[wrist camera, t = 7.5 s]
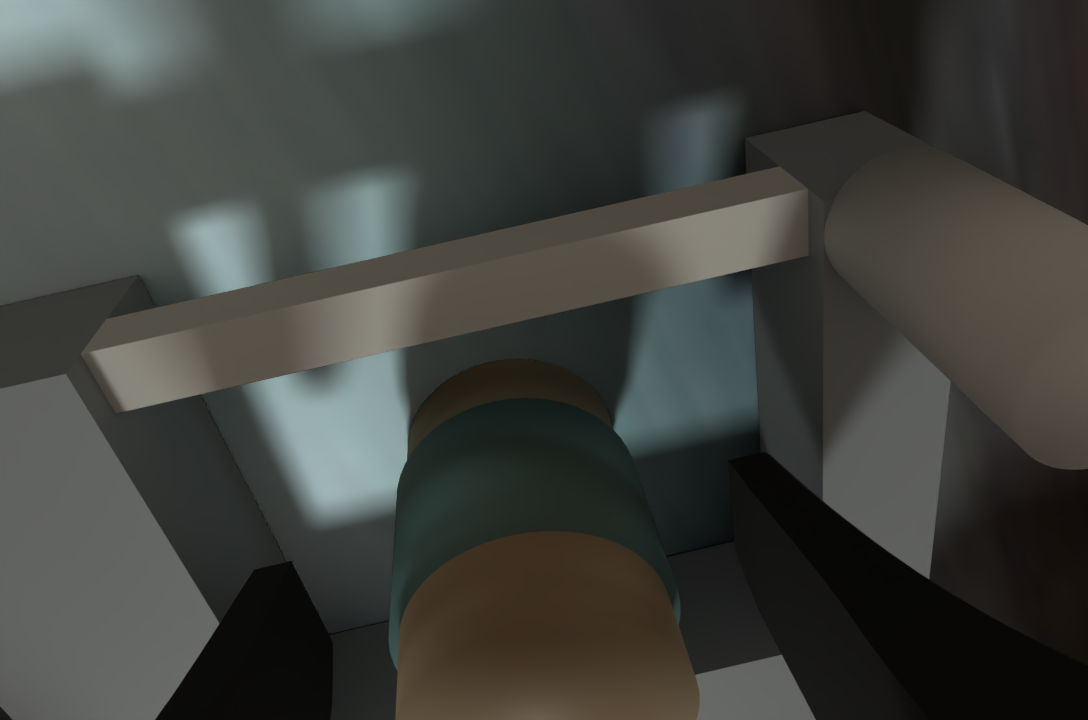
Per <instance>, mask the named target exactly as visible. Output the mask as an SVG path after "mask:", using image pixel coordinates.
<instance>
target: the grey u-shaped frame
mask: <svg viewBox="0 0 1088 720" xmlns="http://www.w3.org/2000/svg"><path fill="white" fill-rule="evenodd" d="M745 155H746V174H744V175H740V176H735V177H731V178H726V179H722V180H717V181H713V182H709V183H704V184H700V185H695V186H691V187H687V188H682V189H678V190H673V191H669V192H665V193H660V194H656V195H651V196H647V197H642V198H638V199H634V200H629V201H625V202H620V203H616V204H612V205H607V206H603V207H598V208H594V209H590V210H585V211H581V212H576V213H572V214H567V215H563V216H559V217H554V218H550V219H545V220H541V221H537V222H532V223H528V224H523V225H519V226H515V227H510V228H506V229H501V230H497V231H492V232H488V233H484V234H479V235H475V236H470V237H466V238H462V239H457V240H453V241H448V242H444V243H440V244H435V245H431V246H426V247H422V248H417V249H413V250H409V251H404V252H400V253H395V254H391V255H387V256H382V257H378V258H373V259H369V260H365V261H360V262H356V263H351V264H347V265H342V266H338V267H334V268H329V269H325V270H320V271H316V272H312V273H307V274H303V275H298V276H294V277H290V278H285V279H281V280H276V281H272V282H267V283H263V284H259V285H254V286H250V287H245V288H241V289H237V290H232V291H228V292H223V293H219V294H215V295H210V296H206V297H201V298H197V299H193V300H188V301H184V302H179V303H175V304H170V305H166V306H162V307H157V308H155V306H154V304H153V302H152V300H151V298H150V296H149V294H148V292H147V290H146V288H145V286H144V284H143V282H142V281H141V279H140V277H139V275H137V276H133V277H129V278H124V279H120V280H115V281H111V282H106V283H102V284H98V285H93V286H89V287H84V288H80V289H76V290H71V291H67V292H62V293H58V294H53V295H49V296H45V297H40V298H36V299H31V300H27V301H22V302H18V303H14V304H9V305H5V306H0V707H1V708H2V709H3V710H4V711H5V712H6V713H7V714H8V715H9V716H10V718H11V719H12V720H155V719H156V717H157V716H158V715H159V713H160V712H161V710H162V709H163V708H164V706H165V705H166V704H167V702H168V701H169V699H170V698H171V697H172V695H173V694H174V692H175V691H176V689H177V688H178V686H179V685H180V683H181V682H182V680H183V679H184V677H185V676H186V674H187V673H188V671H189V670H190V668H191V667H192V665H193V664H194V662H195V661H196V659H197V658H198V656H199V655H200V653H201V652H202V650H203V648H204V647H205V645H206V644H207V642H208V641H209V639H210V638H211V636H212V634H213V633H214V631H215V630H216V628H217V627H218V625H219V623H220V622H221V620H222V619H223V617H224V616H225V614H226V612H227V611H228V609H229V608H230V606H231V604H232V603H233V601H234V600H235V598H236V597H237V595H238V594H239V592H240V590H241V589H242V587H243V586H244V584H245V583H246V581H247V580H248V578H249V577H250V575H251V574H252V572H253V571H254V569H259V568H263V567H267V566H272V565H276V564H280V563H285V562H286V560H285V558H284V556H283V554H282V553H281V551H280V549H279V547H278V545H277V543H276V541H275V539H274V537H273V535H272V533H271V531H270V529H269V527H268V525H267V523H266V521H265V519H264V518H263V516H262V514H261V512H260V510H259V508H258V506H257V504H256V502H255V500H254V498H253V496H252V494H251V492H250V490H249V488H248V486H247V485H246V483H245V481H244V479H243V477H242V475H241V473H240V471H239V469H238V467H237V465H236V463H235V461H234V459H233V457H232V455H231V453H230V451H229V450H228V448H227V446H226V444H225V442H224V440H223V438H222V436H221V434H220V432H219V430H218V428H217V426H216V424H215V422H214V420H213V418H212V417H211V415H210V413H209V411H208V409H207V407H206V405H205V403H204V401H203V399H202V397H201V395H200V394H204V393H208V392H212V391H217V390H221V389H226V388H230V387H234V386H239V385H243V384H248V383H252V382H256V381H261V380H265V379H269V378H274V377H278V376H283V375H287V374H291V373H296V372H300V371H305V370H309V369H313V368H318V367H322V366H327V365H331V364H335V363H340V362H344V361H348V360H353V359H357V358H362V357H366V356H370V355H375V354H379V353H384V352H388V351H392V350H397V349H401V348H406V347H410V346H414V345H419V344H423V343H427V342H432V341H436V340H441V339H445V338H449V337H454V336H458V335H463V334H467V333H471V332H476V331H480V330H485V329H489V328H493V327H498V326H502V325H506V324H511V323H515V322H520V321H524V320H528V319H533V318H537V317H542V316H546V315H550V314H555V313H559V312H563V311H568V310H572V309H577V308H581V307H585V306H590V305H594V304H599V303H603V302H607V301H612V300H616V299H621V298H625V297H629V296H634V295H638V294H642V293H647V292H651V291H656V290H660V289H664V288H669V287H673V286H678V285H682V284H686V283H691V282H695V281H700V280H704V279H708V278H713V277H717V276H721V275H726V274H730V273H735V272H739V271H743V270H748V269H751V273H752V292H753V312H754V332H755V351H756V371H757V391H758V410H759V430H760V450H761V453H762V452H766V453H768V454H769V455H771V456H772V457H773V458H774V459H775V460H777V461H778V462H779V463H780V464H781V465H782V466H783V467H784V468H785V469H787V470H788V471H789V472H790V473H791V474H792V475H793V476H794V477H796V478H797V479H798V480H799V481H800V482H801V483H802V484H804V485H805V486H806V487H807V488H808V489H809V490H811V491H812V492H813V493H814V494H815V495H817V496H818V497H819V498H820V499H821V500H822V501H824V502H825V503H826V504H827V505H829V506H830V507H831V508H832V509H833V510H835V511H836V512H837V513H838V514H840V515H841V516H842V517H843V518H845V519H846V520H847V521H849V522H850V523H851V524H853V525H854V526H855V527H856V528H858V529H859V530H860V531H862V532H863V533H864V534H865V535H867V536H868V537H869V538H871V539H872V540H873V541H875V542H876V543H877V544H879V545H880V546H882V547H883V548H884V549H886V550H887V551H888V552H890V553H891V554H893V555H894V556H895V557H897V558H898V559H900V560H901V561H903V562H904V563H906V564H907V565H908V566H910V567H911V568H913V569H914V570H916V571H917V572H919V573H920V574H922V575H923V576H925V577H926V578H928V579H929V576H930V567H931V558H932V549H933V539H934V530H935V521H936V512H937V503H938V493H939V484H940V475H941V466H942V456H943V447H944V438H945V429H946V420H947V410H948V401H949V392H950V383H951V382H952V383H954V384H955V385H956V386H957V387H958V388H959V389H960V390H961V391H962V392H963V393H964V394H965V395H966V396H967V397H968V398H969V399H970V400H971V401H972V402H974V403H975V404H976V405H977V406H978V407H979V408H980V409H981V410H982V411H983V412H984V413H985V414H986V415H987V416H988V417H989V418H990V419H991V420H992V421H994V422H995V423H996V424H997V425H998V426H999V427H1000V428H1001V429H1002V430H1003V431H1004V432H1005V433H1006V434H1007V435H1008V436H1009V437H1010V438H1011V439H1012V440H1014V441H1015V442H1016V443H1017V444H1018V445H1019V446H1020V447H1021V448H1022V449H1023V450H1024V451H1025V452H1026V453H1027V454H1028V455H1030V456H1031V457H1032V458H1033V459H1035V460H1037V461H1038V462H1040V463H1042V464H1044V465H1048V466H1051V467H1054V468H1060V469H1071V470H1078V469H1088V225H1086V224H1084V223H1082V222H1080V221H1078V220H1077V219H1075V218H1073V217H1071V216H1069V215H1067V214H1065V213H1063V212H1061V211H1059V210H1057V209H1055V208H1053V207H1051V206H1049V205H1048V204H1046V203H1044V202H1042V201H1040V200H1038V199H1036V198H1034V197H1032V196H1030V195H1028V194H1026V193H1024V192H1022V191H1020V190H1018V189H1017V188H1015V187H1013V186H1011V185H1009V184H1007V183H1005V182H1003V181H1001V180H999V179H997V178H995V177H993V176H991V175H989V174H988V173H986V172H984V171H982V170H980V169H978V168H976V167H974V166H972V165H970V164H968V163H966V162H964V161H962V160H960V159H959V158H957V157H955V156H953V155H951V154H949V153H947V152H945V151H943V150H941V149H938V148H935V147H933V146H931V145H929V144H927V143H926V142H924V141H922V140H920V139H918V138H916V137H914V136H912V135H910V134H908V133H906V132H904V131H902V130H901V129H899V128H897V127H895V126H893V125H891V124H889V123H887V122H885V121H883V120H881V119H879V118H877V117H875V116H874V115H872V114H870V113H868V112H866V111H862V112H858V113H854V114H849V115H845V116H840V117H836V118H831V119H827V120H823V121H818V122H814V123H809V124H805V125H800V126H796V127H792V128H787V129H783V130H778V131H774V132H770V133H765V134H761V135H756V136H752V137H747V138H745ZM666 558H667V561H668V563H669V566H670V569H671V572H672V575H673V578H674V581H675V584H676V586H677V590H678V594H679V598H680V610H681V614H680V621H679V628H680V631H681V634H682V637H683V640H684V644H685V647H686V650H687V653H688V656H689V659H690V662H691V665H692V668H693V671H694V674H695V677H696V680H697V684H698V688H699V696H700V705H699V711H698V716H697V719H696V720H816V719H815V717H814V715H813V713H812V712H811V710H810V708H809V706H808V704H807V702H806V700H805V698H804V696H803V694H802V692H801V691H800V689H799V687H798V685H797V683H796V681H795V679H794V677H793V675H792V673H791V671H790V670H789V668H788V666H787V664H786V662H785V660H784V658H783V656H782V654H781V652H780V650H779V649H778V647H777V645H776V643H775V641H774V639H773V637H772V635H771V633H770V631H769V629H768V627H767V625H766V623H765V621H764V620H763V618H762V616H761V614H760V612H759V610H758V608H757V606H756V603H755V600H754V598H753V595H752V593H751V590H750V588H749V585H748V583H747V580H746V577H745V575H744V572H743V569H742V567H741V564H740V561H739V559H738V556H737V553H736V551H735V541H734V542H730V543H726V544H721V545H717V546H713V547H708V548H704V549H700V550H695V551H691V552H687V553H682V554H678V555H674V556H669V557H666ZM329 636H330V638H331V640H332V642H333V693H332V710H331V718H330V720H395V718H396V696H397V674H398V671H397V669H396V667H395V665H394V663H393V660H392V657H391V654H390V648H389V641H388V638H389V621H388V622H384V623H379V624H375V625H371V626H367V627H362V628H358V629H354V630H349V631H345V632H341V633H336V634H332V635H329Z"/></svg>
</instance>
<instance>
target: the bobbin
mask: <svg viewBox="0 0 1088 720" xmlns="http://www.w3.org/2000/svg"><path fill="white" fill-rule="evenodd" d="M680 614H681V610H680V598H679V594H678V590H677V586H676V584H675V581H674V578H673V575H672V572H671V569H670V566H669V563H668V561H667V558H666V555H665V552H664V549H663V546H662V543H661V540H660V537H659V535H658V532H657V529H656V526H655V523H654V520H653V517H652V514H651V511H650V509H649V506H648V503H647V500H646V497H645V494H644V491H643V488H642V486H641V483H640V480H639V477H638V474H637V471H636V468H635V465H634V462H633V460H632V457H631V455H630V453H629V451H628V448H627V447H626V445H625V444H624V442H623V441H622V439H621V438H620V437H619V436H618V434H617V433H616V432H615V431H614V429H613V426H612V423H611V420H610V417H609V414H608V412H607V410H606V407H605V405H604V403H603V402H602V400H601V399H600V397H599V396H598V394H597V393H596V392H595V391H594V390H593V389H592V388H591V387H590V385H588V384H587V383H586V382H585V381H583V380H582V379H581V378H580V377H578V376H576V375H575V374H573V373H571V372H570V371H567V370H565V369H563V368H561V367H558V366H555V365H552V364H549V363H545V362H540V361H534V360H523V359H511V360H500V361H494V362H488V363H485V364H481V365H478V366H474V367H472V368H470V369H467V370H465V371H462V372H460V373H459V374H457V375H455V376H453V377H452V378H450V379H448V380H447V381H446V382H444V383H443V384H442V385H440V386H439V387H438V388H437V389H436V390H435V391H434V392H433V393H431V394H430V395H429V397H428V398H427V399H426V400H425V402H424V403H423V404H422V405H421V407H420V409H419V410H418V412H417V414H416V415H415V418H414V420H413V423H412V425H411V428H410V433H409V437H408V454H407V462H406V463H405V465H404V468H403V470H402V473H401V475H400V479H399V483H398V488H397V502H396V519H395V536H394V553H393V569H392V586H391V603H390V620H389V638H388V641H389V648H390V654H391V657H392V660H393V663H394V665H395V667H396V669H397V671H398V674H397V696H396V718H395V720H696V719H697V716H698V711H699V705H700V696H699V688H698V684H697V680H696V677H695V674H694V671H693V668H692V665H691V662H690V659H689V656H688V653H687V650H686V647H685V644H684V640H683V637H682V634H681V631H680V628H679V621H680Z"/></svg>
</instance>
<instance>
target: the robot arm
mask: <svg viewBox="0 0 1088 720" xmlns="http://www.w3.org/2000/svg"><path fill="white" fill-rule="evenodd" d="M728 465H729V478H730V490H731V503H732V515H733V528H734V541H735V551H736V553H737V556H738V559H739V561H740V564H741V567H742V569H743V572H744V575H745V577H746V580H747V583H748V585H749V588H750V590H751V593H752V595H753V598H754V600H755V603H756V606H757V608H758V610H759V612H760V614H761V616H762V618H763V620H764V621H765V623H766V625H767V627H768V629H769V631H770V633H771V635H772V637H773V639H774V641H775V643H776V645H777V647H778V649H779V650H780V652H781V654H782V656H783V658H784V660H785V662H786V664H787V666H788V668H789V670H790V671H791V673H792V675H793V677H794V679H795V681H796V683H797V685H798V687H799V689H800V691H801V692H802V694H803V696H804V698H805V700H806V702H807V704H808V706H809V708H810V710H811V712H812V713H813V715H814V717H815V719H816V720H1088V666H1087V665H1085V664H1083V663H1080V662H1078V661H1076V660H1074V659H1072V658H1070V657H1068V656H1066V655H1064V654H1062V653H1060V652H1058V651H1056V650H1054V649H1052V648H1050V647H1048V646H1046V645H1044V644H1042V643H1040V642H1038V641H1036V640H1034V639H1032V638H1030V637H1028V636H1026V635H1024V634H1022V633H1020V632H1018V631H1016V630H1014V629H1012V628H1010V627H1008V626H1006V625H1005V624H1003V623H1001V622H999V621H998V620H996V619H994V618H992V617H990V616H989V615H987V614H985V613H983V612H981V611H980V610H978V609H976V608H975V607H973V606H971V605H970V604H968V603H966V602H965V601H963V600H961V599H960V598H958V597H956V596H955V595H953V594H951V593H950V592H948V591H946V590H945V589H943V588H942V587H940V586H939V585H937V584H935V583H934V582H932V581H931V580H929V579H928V578H926V577H925V576H923V575H922V574H920V573H919V572H917V571H916V570H914V569H913V568H911V567H910V566H908V565H907V564H906V563H904V562H903V561H901V560H900V559H898V558H897V557H895V556H894V555H893V554H891V553H890V552H888V551H887V550H886V549H884V548H883V547H882V546H880V545H879V544H877V543H876V542H875V541H873V540H872V539H871V538H869V537H868V536H867V535H865V534H864V533H863V532H862V531H860V530H859V529H858V528H856V527H855V526H854V525H853V524H851V523H850V522H849V521H847V520H846V519H845V518H843V517H842V516H841V515H840V514H838V513H837V512H836V511H835V510H833V509H832V508H831V507H830V506H829V505H827V504H826V503H825V502H824V501H822V500H821V499H820V498H819V497H818V496H817V495H815V494H814V493H813V492H812V491H811V490H809V489H808V488H807V487H806V486H805V485H804V484H802V483H801V482H800V481H799V480H798V479H797V478H796V477H794V476H793V475H792V474H791V473H790V472H789V471H788V470H787V469H785V468H784V467H783V466H782V465H781V464H780V463H779V462H778V461H777V460H775V459H774V458H773V457H772V456H771V455H769V454H768V453H766V452H762V453H758V454H754V455H749V456H745V457H741V458H736V459H732V460H728ZM332 693H333V642H332V640H331V638H330V636H329V634H328V632H327V630H326V628H325V626H324V624H323V622H322V620H321V619H320V617H319V615H318V613H317V611H316V609H315V607H314V605H313V603H312V601H311V599H310V597H309V595H308V593H307V591H306V589H305V587H304V585H303V583H302V581H301V579H300V577H299V575H298V573H297V571H296V569H295V567H294V566H293V564H292V562H291V561H289V562H285V563H280V564H276V565H272V566H267V567H263V568H259V569H254V571H253V572H252V574H251V575H250V577H249V578H248V580H247V581H246V583H245V584H244V586H243V587H242V589H241V590H240V592H239V594H238V595H237V597H236V598H235V600H234V601H233V603H232V604H231V606H230V608H229V609H228V611H227V612H226V614H225V616H224V617H223V619H222V620H221V622H220V623H219V625H218V627H217V628H216V630H215V631H214V633H213V634H212V636H211V638H210V639H209V641H208V642H207V644H206V645H205V647H204V648H203V650H202V652H201V653H200V655H199V656H198V658H197V659H196V661H195V662H194V664H193V665H192V667H191V668H190V670H189V671H188V673H187V674H186V676H185V677H184V679H183V680H182V682H181V683H180V685H179V686H178V688H177V689H176V691H175V692H174V694H173V695H172V697H171V698H170V699H169V701H168V702H167V704H166V705H165V706H164V708H163V709H162V710H161V712H160V713H159V715H158V716H157V717H156V719H155V720H330V718H331V710H332Z"/></svg>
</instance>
